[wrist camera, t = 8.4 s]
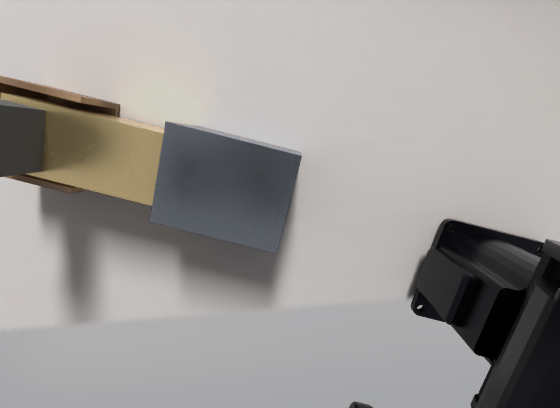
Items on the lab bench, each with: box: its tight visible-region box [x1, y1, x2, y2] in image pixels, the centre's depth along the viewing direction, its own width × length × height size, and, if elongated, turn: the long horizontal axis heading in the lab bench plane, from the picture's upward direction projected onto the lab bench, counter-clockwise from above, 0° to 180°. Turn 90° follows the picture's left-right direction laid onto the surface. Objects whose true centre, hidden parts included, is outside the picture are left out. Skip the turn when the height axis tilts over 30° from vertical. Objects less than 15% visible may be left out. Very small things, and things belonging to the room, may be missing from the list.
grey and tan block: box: [0, 93, 164, 206], centre depth 14 cm, size 9×4×10 cm, turn 76°
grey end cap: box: [150, 122, 302, 253], centre depth 17 cm, size 6×5×5 cm
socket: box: [0, 76, 120, 194], centre depth 17 cm, size 5×5×3 cm
